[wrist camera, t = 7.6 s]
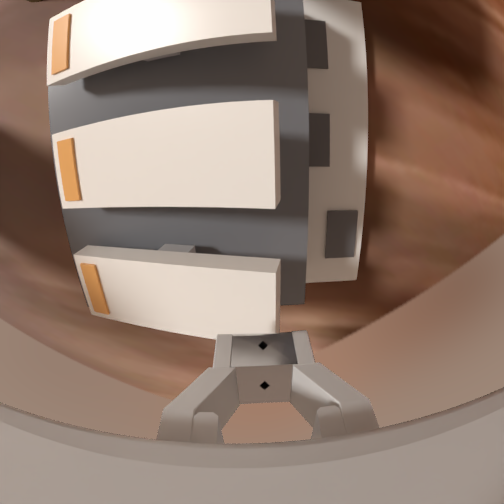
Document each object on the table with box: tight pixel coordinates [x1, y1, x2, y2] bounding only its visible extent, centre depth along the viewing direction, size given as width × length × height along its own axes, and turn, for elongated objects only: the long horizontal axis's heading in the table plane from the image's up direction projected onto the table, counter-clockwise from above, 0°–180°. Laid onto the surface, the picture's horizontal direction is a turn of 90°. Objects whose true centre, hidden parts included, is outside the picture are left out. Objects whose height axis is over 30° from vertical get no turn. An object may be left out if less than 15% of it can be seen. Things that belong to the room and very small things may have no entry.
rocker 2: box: [52, 100, 281, 209], centre depth 11 cm, size 10×4×3 cm, turn 92°
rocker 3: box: [74, 244, 281, 339], centre depth 14 cm, size 10×4×3 cm, turn 92°
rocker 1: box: [47, 0, 277, 86], centre depth 9 cm, size 10×4×3 cm, turn 92°
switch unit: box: [48, 0, 368, 307], centre depth 15 cm, size 20×19×5 cm
